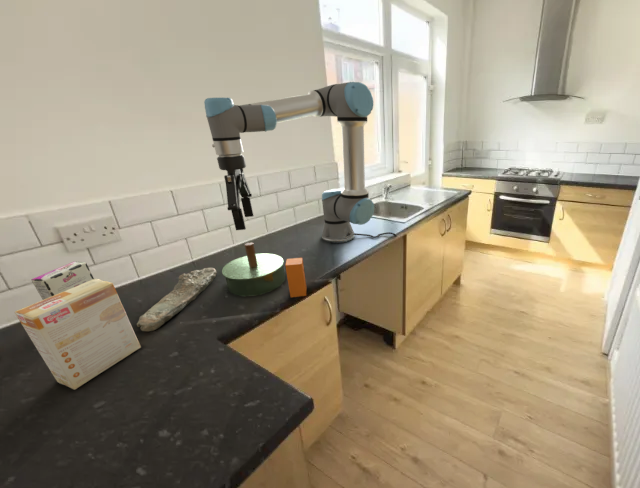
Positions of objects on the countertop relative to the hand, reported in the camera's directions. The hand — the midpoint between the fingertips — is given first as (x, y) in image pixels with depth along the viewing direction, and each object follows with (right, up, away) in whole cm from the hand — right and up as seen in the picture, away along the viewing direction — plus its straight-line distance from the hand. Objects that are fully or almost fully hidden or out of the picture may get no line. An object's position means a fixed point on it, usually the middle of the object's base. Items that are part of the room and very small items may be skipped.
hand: (245, 222), depth 104 cm
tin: (0, -21, +9) cm, 23 cm away
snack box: (+17, -24, +2) cm, 29 cm away
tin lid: (0, -15, +6) cm, 16 cm away
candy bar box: (-45, -30, -8) cm, 54 cm away
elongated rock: (-20, -25, 0) cm, 32 cm away
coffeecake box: (-24, -38, -26) cm, 51 cm away
